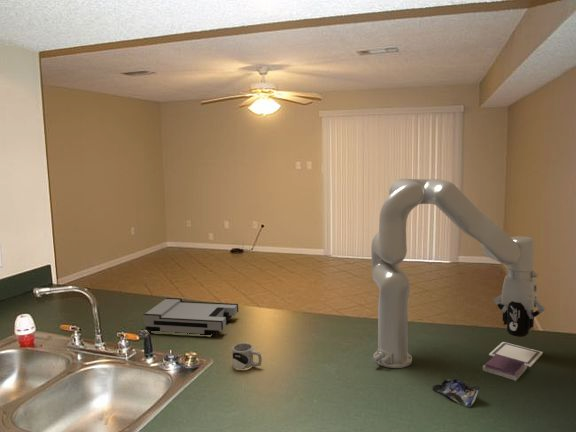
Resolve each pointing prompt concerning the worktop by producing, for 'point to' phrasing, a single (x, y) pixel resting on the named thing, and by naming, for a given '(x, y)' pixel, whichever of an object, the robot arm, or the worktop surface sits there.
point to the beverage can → (517, 319)
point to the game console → (189, 316)
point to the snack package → (458, 390)
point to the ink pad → (505, 367)
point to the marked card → (517, 353)
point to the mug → (244, 356)
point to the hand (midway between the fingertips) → (517, 325)
